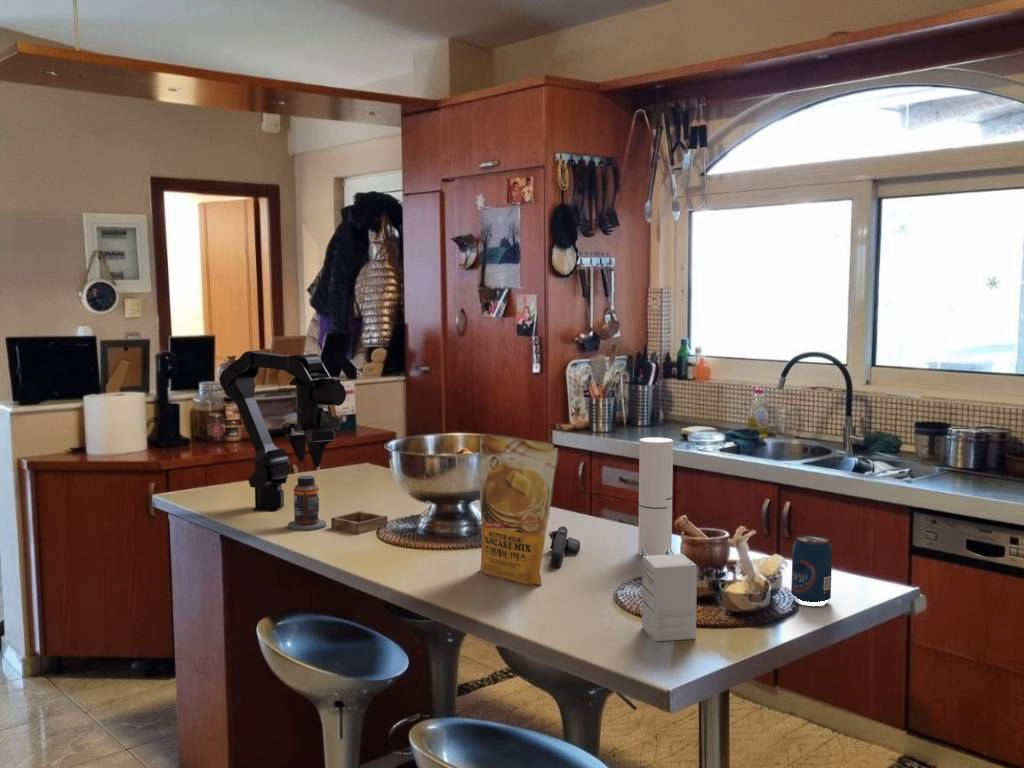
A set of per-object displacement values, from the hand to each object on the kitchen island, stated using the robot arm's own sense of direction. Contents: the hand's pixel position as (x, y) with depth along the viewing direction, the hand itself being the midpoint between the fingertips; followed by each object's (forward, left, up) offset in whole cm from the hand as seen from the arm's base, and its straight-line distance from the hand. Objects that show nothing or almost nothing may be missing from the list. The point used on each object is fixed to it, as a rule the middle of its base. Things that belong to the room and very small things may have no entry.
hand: (309, 464), depth 250 cm
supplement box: (+86, -79, -13) cm, 117 cm away
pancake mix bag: (+57, -49, -13) cm, 76 cm away
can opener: (+66, -34, -14) cm, 75 cm away
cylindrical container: (+86, -29, -13) cm, 92 cm away
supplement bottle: (+3, -12, -12) cm, 17 cm away
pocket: (+16, -12, -13) cm, 24 cm away
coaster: (+3, -12, -13) cm, 18 cm away
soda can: (+113, -60, -13) cm, 129 cm away
